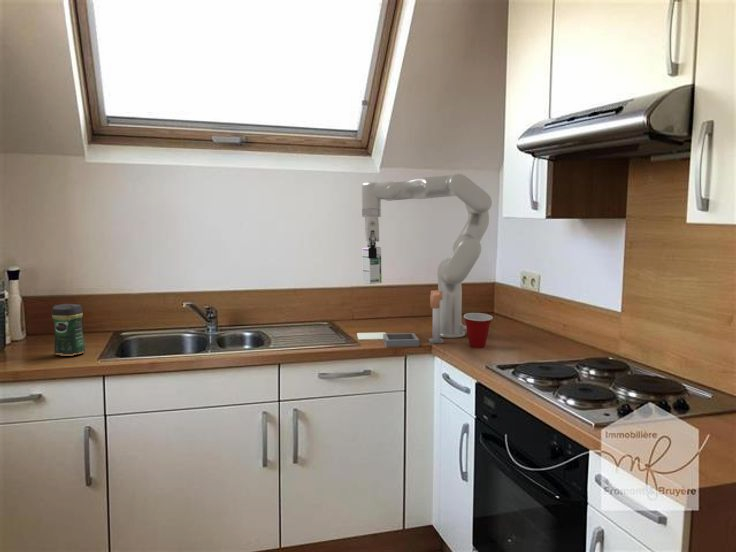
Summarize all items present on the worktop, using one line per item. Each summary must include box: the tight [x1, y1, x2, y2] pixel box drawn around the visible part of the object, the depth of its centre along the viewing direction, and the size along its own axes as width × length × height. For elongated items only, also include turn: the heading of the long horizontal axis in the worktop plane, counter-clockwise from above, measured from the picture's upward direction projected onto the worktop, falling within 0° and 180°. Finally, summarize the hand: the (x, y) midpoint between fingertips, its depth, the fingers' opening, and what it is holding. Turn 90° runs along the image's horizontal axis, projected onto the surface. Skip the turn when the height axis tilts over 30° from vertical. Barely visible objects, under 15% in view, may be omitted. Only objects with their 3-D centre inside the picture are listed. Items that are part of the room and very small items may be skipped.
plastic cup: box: [463, 312, 494, 349], centre depth 219 cm, size 11×11×12 cm
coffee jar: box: [51, 303, 86, 354], centre depth 210 cm, size 10×8×19 cm
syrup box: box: [361, 246, 382, 285], centre depth 236 cm, size 6×6×14 cm
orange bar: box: [429, 289, 442, 309], centre depth 216 cm, size 25×4×5 cm, turn 172°
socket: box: [382, 301, 445, 348], centre depth 226 cm, size 23×12×16 cm, turn 94°
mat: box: [356, 331, 387, 341], centre depth 239 cm, size 12×12×1 cm
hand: (371, 257), depth 236 cm, fingers closed on syrup box, 7 cm apart
